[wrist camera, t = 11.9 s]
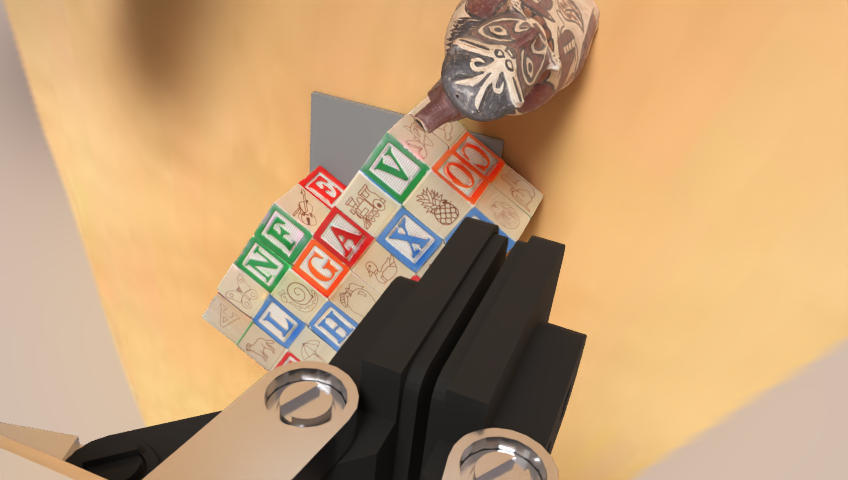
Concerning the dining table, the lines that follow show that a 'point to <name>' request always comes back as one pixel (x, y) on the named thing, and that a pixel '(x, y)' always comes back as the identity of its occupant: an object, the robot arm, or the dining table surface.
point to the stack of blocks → (361, 239)
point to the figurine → (508, 58)
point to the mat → (354, 134)
